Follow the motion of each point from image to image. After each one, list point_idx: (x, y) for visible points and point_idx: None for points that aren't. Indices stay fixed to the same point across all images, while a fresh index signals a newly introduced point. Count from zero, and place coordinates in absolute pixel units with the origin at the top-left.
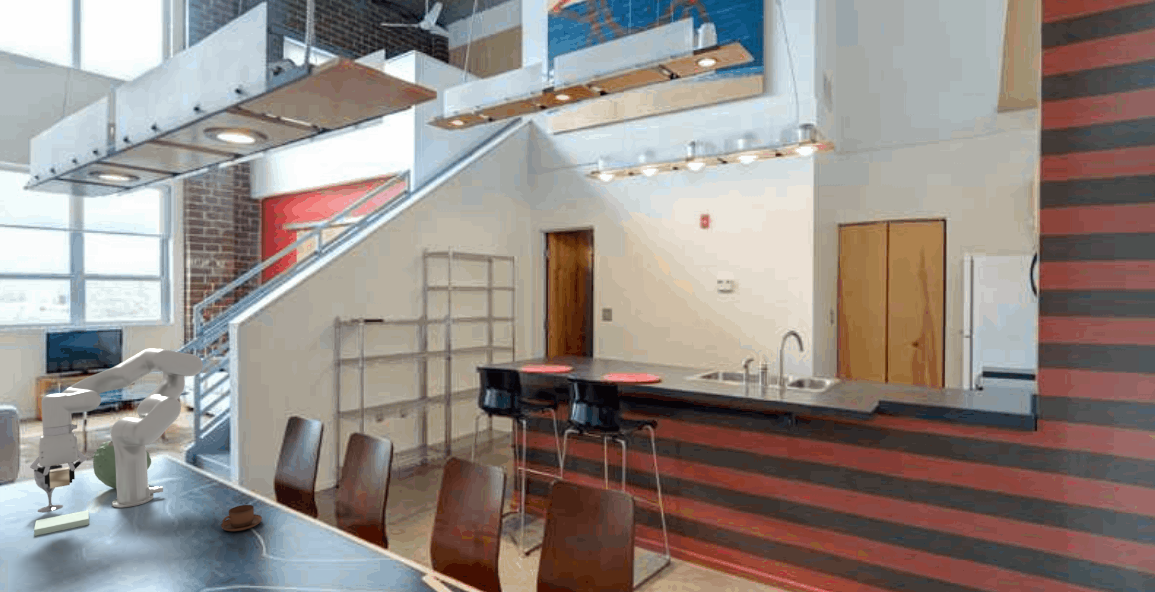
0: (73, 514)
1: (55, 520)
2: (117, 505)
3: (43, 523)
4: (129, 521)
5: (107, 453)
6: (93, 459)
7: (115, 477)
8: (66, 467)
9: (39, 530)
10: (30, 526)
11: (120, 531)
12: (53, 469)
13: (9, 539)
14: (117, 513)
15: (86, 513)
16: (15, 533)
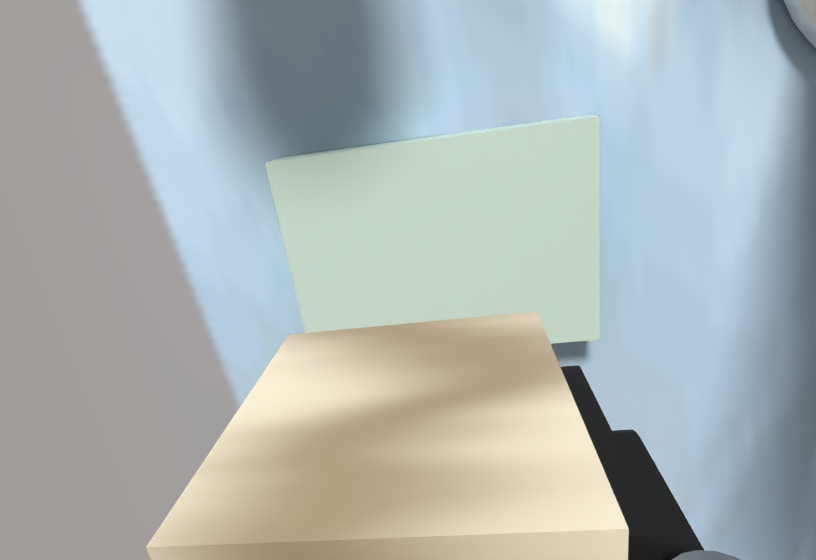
0: (497, 174)
1: (397, 247)
2: (813, 31)
3: (334, 267)
4: (804, 404)
5: None
6: None
7: None
8: (551, 557)
9: None
10: (242, 134)
11: (732, 526)
12: (224, 557)
13: (207, 323)
14: (770, 189)
15: (585, 209)
16: (199, 232)
